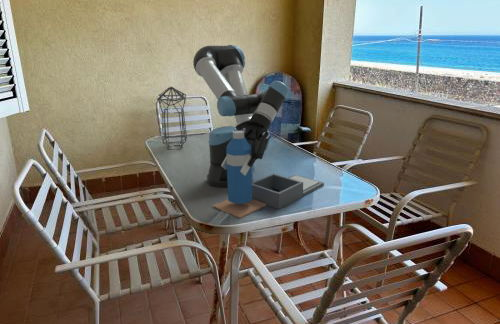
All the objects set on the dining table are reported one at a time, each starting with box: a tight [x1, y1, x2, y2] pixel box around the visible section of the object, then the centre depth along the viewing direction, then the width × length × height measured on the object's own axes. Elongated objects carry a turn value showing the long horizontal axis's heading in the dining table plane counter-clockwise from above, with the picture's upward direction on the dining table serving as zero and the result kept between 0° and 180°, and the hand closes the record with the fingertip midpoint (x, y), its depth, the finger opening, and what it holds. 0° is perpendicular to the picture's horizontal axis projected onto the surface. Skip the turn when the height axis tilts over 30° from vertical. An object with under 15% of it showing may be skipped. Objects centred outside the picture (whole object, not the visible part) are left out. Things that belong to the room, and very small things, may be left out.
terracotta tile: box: [212, 198, 268, 219], centre depth 133 cm, size 14×14×1 cm
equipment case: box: [252, 173, 325, 210], centre depth 145 cm, size 15×30×6 cm, turn 137°
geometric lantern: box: [156, 86, 188, 149], centre depth 204 cm, size 16×16×35 cm
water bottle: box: [226, 131, 253, 204], centre depth 128 cm, size 9×9×25 cm
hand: (233, 170), depth 126 cm, fingers closed on water bottle, 9 cm apart
